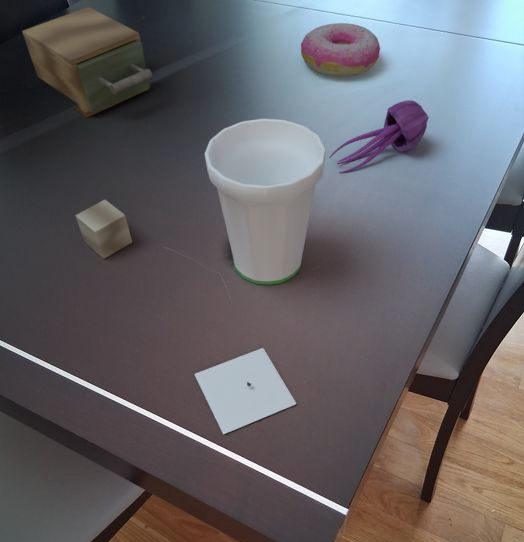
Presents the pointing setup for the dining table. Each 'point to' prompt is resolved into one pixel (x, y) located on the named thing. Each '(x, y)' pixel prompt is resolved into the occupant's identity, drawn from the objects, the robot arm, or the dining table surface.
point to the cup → (266, 193)
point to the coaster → (244, 390)
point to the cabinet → (74, 49)
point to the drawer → (114, 76)
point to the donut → (340, 49)
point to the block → (104, 228)
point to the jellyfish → (392, 132)
